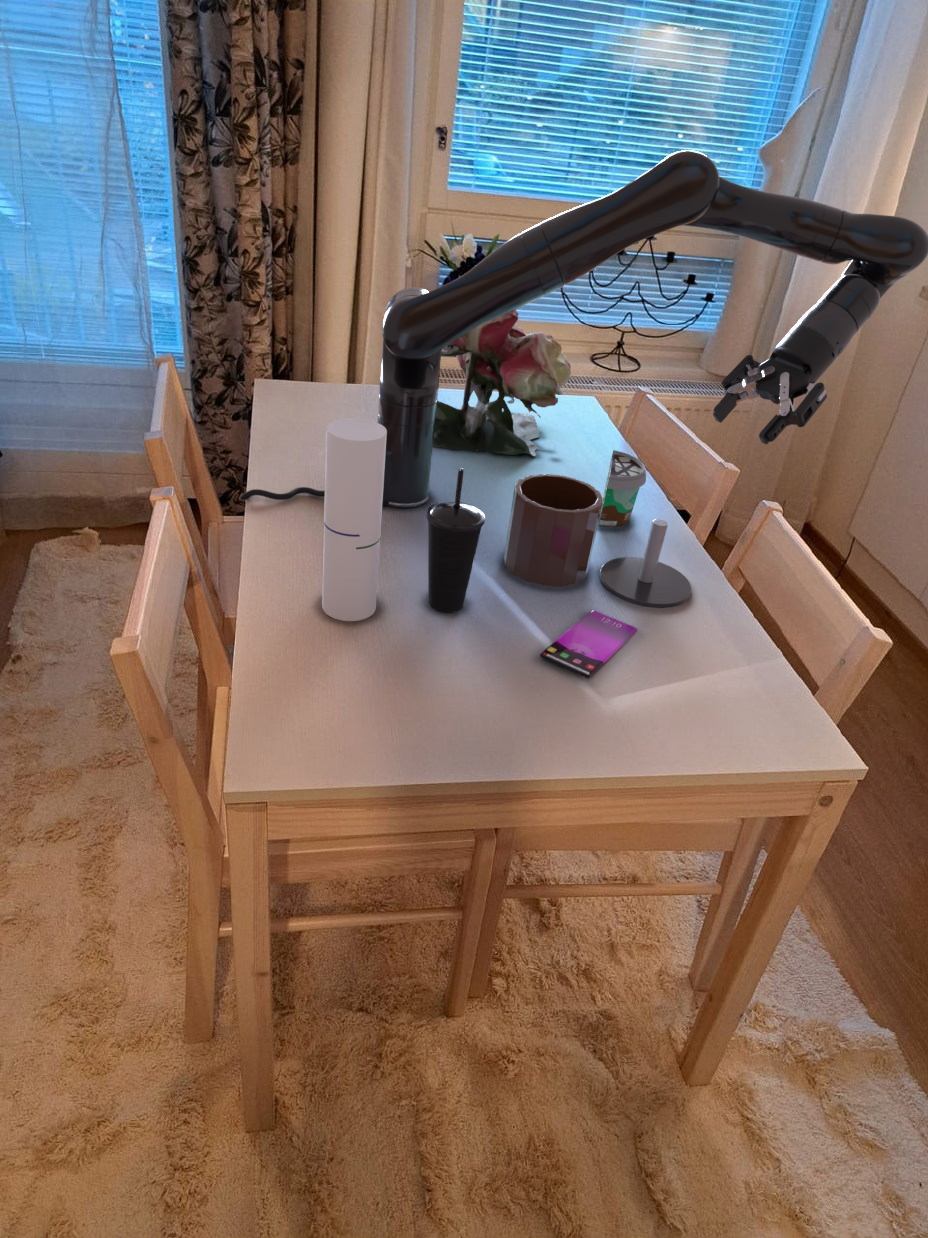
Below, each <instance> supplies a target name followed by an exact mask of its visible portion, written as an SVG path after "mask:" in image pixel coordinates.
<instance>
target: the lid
mask: <svg viewBox="0 0 928 1238" xmlns="http://www.w3.org/2000/svg"><path fill="white" fill-rule="evenodd" d="M668 526H669V523H668V522H667V521H666V520H664V519H661V518H657V519H653V520H652V522H651V526H650V530H649V534H648V537H647V541H646V545H645V550H644V554H643V557H638V556H636V557H635V556H624V557H617V558H613V559H610V560H608V561H606V562H605V563H604V564H603V565H602V566H601V568H600V571H599V580H600V582H601V584H602V585H603V586H604V588H605V589H606V590H607V591H609V592H610V593H611V594H613V595H614V596H616V597H617V598H619V599H622V600H624V601H627V602H630V603H632V604H636V605H638V606H644V607H650V608H671V607H676V606H679V605H681V604H683V603H685V602H686V601H687V600H688V599H689V598H690V596H691V593H692V585H691V583H690V580H688V578H687V577H686V576H685V575H684V574H683V573H682V572H680V571H679V570H677V568H674V567H672V566H670V565H668V564H665V563H663V562H660V561H659V560H660V558H661V557H660V556H661V553H662V549H663V545H664V541H665V537H666V534H667V530H668Z"/></svg>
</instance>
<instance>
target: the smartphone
mask: <svg viewBox="0 0 928 1238" xmlns="http://www.w3.org/2000/svg"><path fill="white" fill-rule="evenodd" d="M637 631H638V629H637V627H635V626H633V625H630V624H628V623H626V622H623V621H620V620H618V619H616V618H613V617H611V616H609V615H606V614H604V613H602V612H600V611H597V610H594V609H592V610H590V611H589V612H587V613H586V614H585V615H584V616H583V617H581V619H579V620H578V621H577V622H576V623H575V624H574V625H572V626H571V627H570V628H568V629H567V630H566V631H565V632H564V633H563V634H562V635H560V636H559V637H558V638H557V639H555V640H554V641H553V643H550V645H549V646H547V647H546V648H545V649H544V650H543V651H541V652H540V653H539V656H540V658H542V659H545V660H547V661H549V662H550V663H553V664H555V665H557V666H559V667H561V668H564V669H566V670H568V671H570V672H573V673H574V674H577V675H579V676H582V677H584V678H586V679H589V678H591V677H592V676H593V675H594V674H595V673H596V672H597V671H598V670H600V668H601V667H602V666H604V665H605V664H606V662H607V661H608V660H609V659H611V658H612V657H613V656H614V655H615V654H616V653H617V652H618V651H619V650H620V649H621V648H622V647H623V646H624V645H625V644H626V643H627V642H628V641H630V639H631V638H632V637H633V636H635V634H636V633H637Z"/></svg>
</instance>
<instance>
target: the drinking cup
mask: <svg viewBox="0 0 928 1238" xmlns="http://www.w3.org/2000/svg"><path fill="white" fill-rule="evenodd" d="M464 471H465V469H464V468H462V467H459V468H458V472H457V479H456V487H455V488H456V489H455V497H454V501H442V502H438V503H434V504H432V505H430V506H429V507H428V508H427V509H426V516H425V517H426V519H427V525H428V526H427V531H428V532H427V534H428V535H427V538H428V540H427V544H428V546H427V547H428V549H427V552H428V553H427V554H428V555H427V557H428V558H427V559H428V561H427V563H428V567H427V568H428V571H427V573H428V574H427V575H428V578H427V579H428V581H427V583H428V584H427V585H428V586H427V588H428V591H427V592H428V593H427V594H428V596H427V597H428V599H427V600H428V601H427V602H428V605H429V606H430V608H431V609H433V610H435V611H437V612H440V613H447V614H449V613H450V614H451V613H456V612H459V611H460V610H461V609H462V608H463V607H464V603H465V599H466V595H467V591H468V586H469V581H470V578H471V573H472V570H473V565H474V561H475V557H476V553H477V548H478V544H479V539H480V535H481V532H482V528H483V527H484V525H485V523H486V515H485V514H484V512H483V511H482V510H480V509H479V508H478V507H476V506H473V505H472V504H469V503H465V502H461V497H462V491H463V489H462V488H463V481H464V474H465V473H464Z"/></svg>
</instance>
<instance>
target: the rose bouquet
mask: <svg viewBox="0 0 928 1238" xmlns="http://www.w3.org/2000/svg"><path fill="white" fill-rule="evenodd" d="M518 321H519V312H518V311H517V309H515V310H513V311H511V312H509V313H506V314H504V315H502V316H499V317H497V318H494V319H492V320H490V321H487V322H485V323H483V324H481V325H479V326H477V327H476V328H474V329H472V330H471V331H469V332H467V333H466V334H464V335H463V336H461V337H459V338H458V339H456V340H455V341H453V342H452V343H450V344H448V347H449V348H447V349H442V351H441V357H456V360H457V363H458V365H459V367H460V369H461V370H462V371H463V373H464V375H465V382H464V387H463V388H464V389H463V398H462V405H461V407H460V409H459V408H457V407H454V406H453V405H449V403H445V402H443V401H439V400H438V399H437V408H436V418H435V428H434V439H433V447H437V448H443V449H450V450H457V451H458V450H459V451H470V452H475V453H477V451H479V452H480V451H484V452H485V451H486V452H492V453H495V454H502V455H511V456H517V455H518V456H519V455H523V454H527V455H530V456H533V457H536V456H537V453H536V451H538V450H539V451H542V452H543V451H544V452H546V450H544V449H541V448H540V447H538V446H537V445H536V444H535V443H534V442H533V441H532V440H535V439H537V438H540V437H541V435H540V431H539V426H538V424H537V421H536V418H535V416H534V415H532V414H530V413H531V412H533V413H534V414H536V415H537V416H538V417H539V418H541V419H542V417H541V415H540V414H539V413H538V412H537V411H536V410H535V409H534V408H533V407H532V405H536V407H540V408H548V407H552V406H556V405H557V404H558V403H559V398H558V397H557V396H556V395H558V396H562V395H563V393H564V392H563V389H562V386H564V385H566V383H568V381H571V379H570V377H571V374H572V370H571V367H572V366H571V363H570V362H569V361H568V359H567V357H566V356H565V354H564V352H562V349H563V348H562V345H561V343H559V342H557V341H556V340H555V339H554V337H553V336H552V335H550V334H547V333H544V332H542V331H540V330H539V331H532V332H529V333H528V334H526V333H525V330H524V328H522V327H520V325H519V324H518V323H517V322H518ZM494 390H495V391H497V392H498V396H497V399H495V400H493V401H490V399H491V397H492V396H493V391H494ZM473 393H474V394H475V396H476V399H477V402H476V404H475V405H474V406H471V405H469V404H470V403H469V401H470V398H471V397H472V394H473ZM505 398H510V400H507V401H506V400H505ZM515 399H517V400H519V401H520V402H521V403H522V405H523V406H524V407H525V408H526V409H527V411H528V413H524V414H522V413H519V412H518V413H512V412H511V410H510V408H509V406H508V404H510V405H513V404H514V403H515ZM451 402H452V401H451ZM453 403H454V402H452V404H453Z"/></svg>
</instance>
